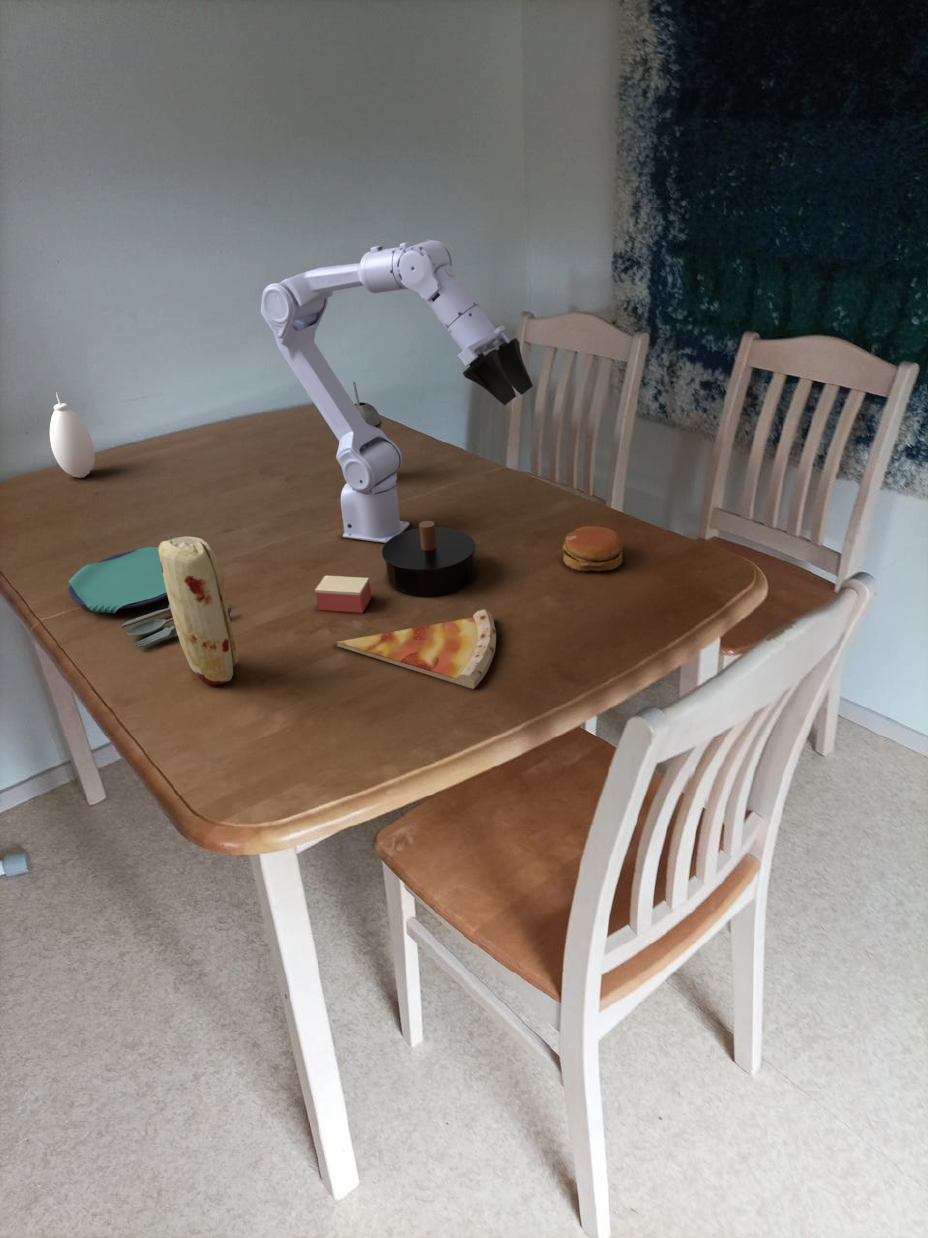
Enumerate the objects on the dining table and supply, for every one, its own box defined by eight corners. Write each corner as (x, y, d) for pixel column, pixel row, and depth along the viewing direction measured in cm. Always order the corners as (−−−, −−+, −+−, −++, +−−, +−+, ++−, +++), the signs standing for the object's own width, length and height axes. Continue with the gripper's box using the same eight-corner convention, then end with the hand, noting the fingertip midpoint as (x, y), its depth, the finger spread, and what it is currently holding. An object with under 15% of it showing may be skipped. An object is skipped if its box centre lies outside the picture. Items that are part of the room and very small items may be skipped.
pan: (373, 589, 136) (370, 564, 133) (410, 551, 146) (407, 526, 144) (454, 602, 131) (452, 576, 129) (486, 561, 142) (484, 536, 139)
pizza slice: (400, 596, 133) (399, 585, 132) (530, 630, 123) (530, 618, 122) (337, 647, 122) (335, 635, 121) (474, 689, 112) (473, 676, 111)
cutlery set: (174, 546, 152) (171, 535, 151) (246, 613, 131) (243, 600, 130) (57, 584, 143) (53, 571, 141) (114, 662, 122) (110, 649, 120)
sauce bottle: (86, 466, 189) (62, 383, 179) (108, 473, 185) (84, 388, 175) (54, 478, 183) (27, 394, 174) (75, 485, 179) (49, 399, 170)
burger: (632, 567, 137) (634, 540, 135) (579, 579, 135) (579, 552, 133) (604, 542, 145) (605, 516, 143) (553, 553, 143) (552, 527, 141)
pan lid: (366, 568, 133) (362, 538, 131) (406, 528, 145) (404, 500, 142) (454, 581, 128) (452, 550, 126) (489, 539, 140) (487, 510, 137)
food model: (175, 670, 119) (140, 538, 109) (219, 650, 123) (189, 521, 112) (210, 700, 113) (175, 563, 102) (255, 678, 117) (226, 544, 106)
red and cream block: (318, 610, 131) (314, 589, 129) (328, 595, 135) (325, 575, 133) (362, 612, 130) (359, 592, 128) (371, 597, 133) (368, 577, 132)
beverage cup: (394, 476, 175) (384, 376, 164) (372, 489, 170) (360, 387, 159) (365, 470, 178) (354, 372, 168) (343, 483, 173) (330, 383, 163)
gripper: (463, 305, 117) (523, 388, 119) (500, 294, 129) (554, 370, 131) (427, 338, 121) (486, 418, 123) (466, 324, 133) (519, 397, 135)
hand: (519, 395), depth 127 cm, fingers open, 7 cm apart
